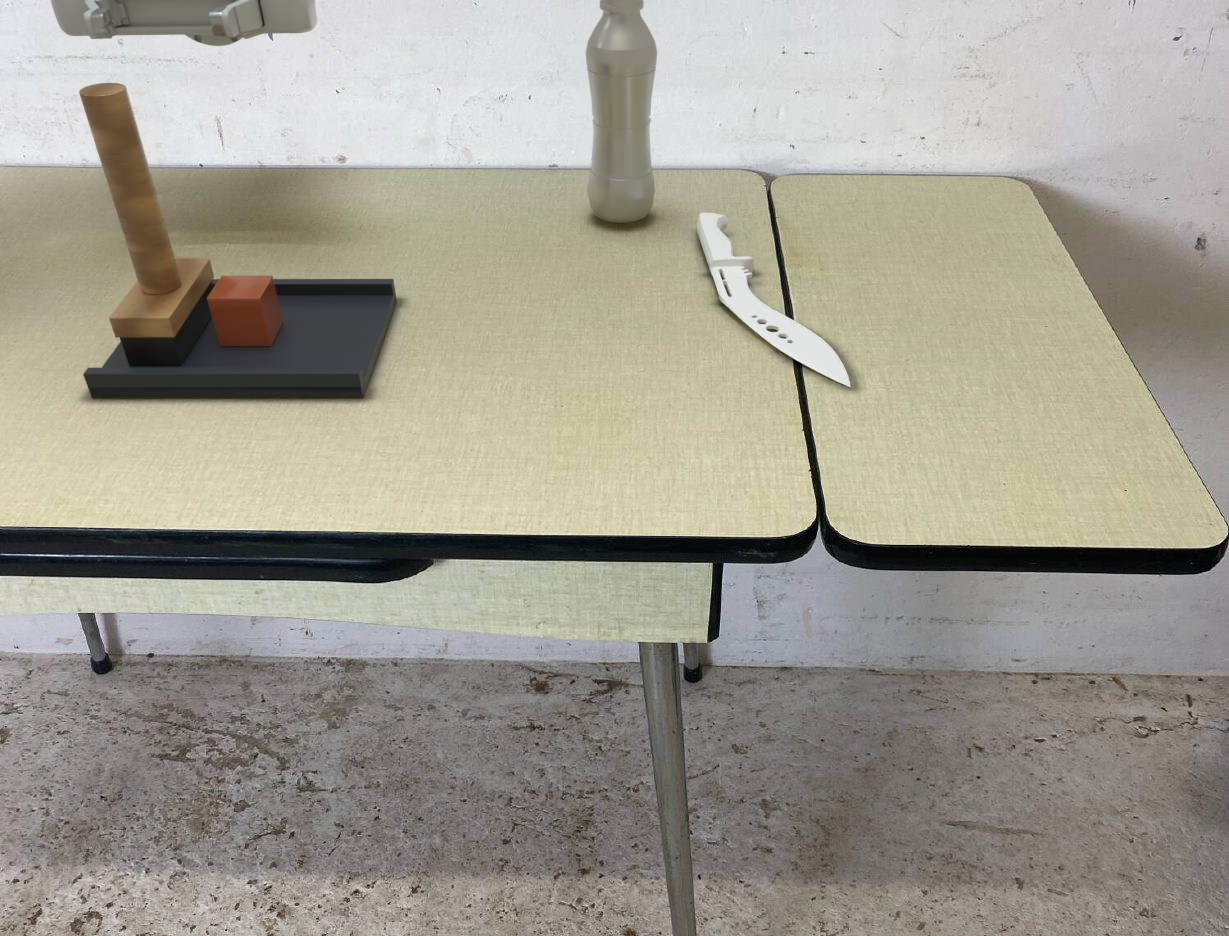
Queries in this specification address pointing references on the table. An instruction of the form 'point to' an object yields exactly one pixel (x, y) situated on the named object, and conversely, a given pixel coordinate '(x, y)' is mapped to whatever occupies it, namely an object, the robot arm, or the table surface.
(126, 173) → the brush
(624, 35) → the plastic bottle
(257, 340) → the block
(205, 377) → the tray
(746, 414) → the table surface
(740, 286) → the knife
